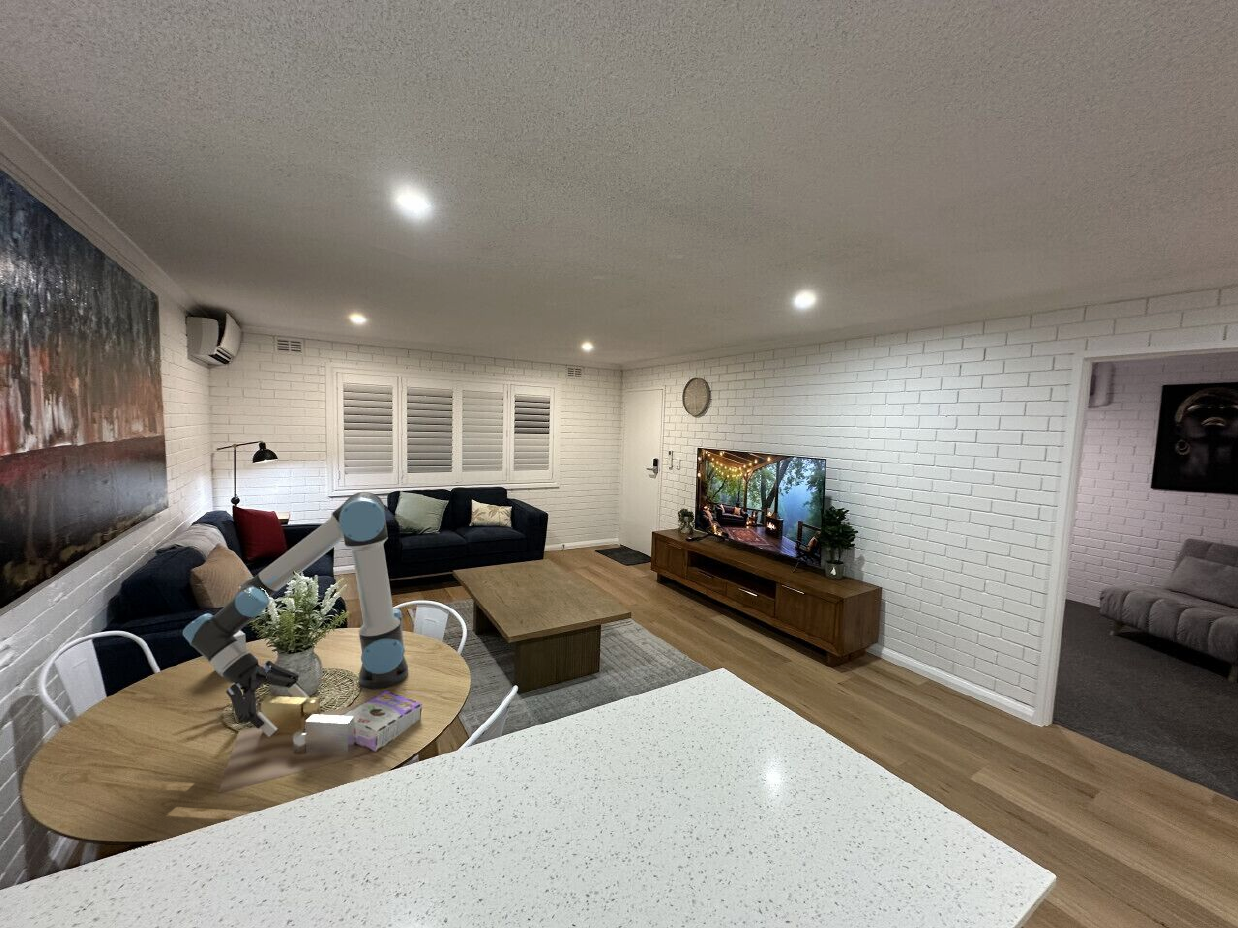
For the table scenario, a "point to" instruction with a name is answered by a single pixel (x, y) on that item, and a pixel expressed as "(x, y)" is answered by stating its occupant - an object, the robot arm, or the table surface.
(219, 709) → the table surface
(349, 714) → the candy box
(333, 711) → the walnut board
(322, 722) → the fixed hinge leaf
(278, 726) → the loose hinge leaf
